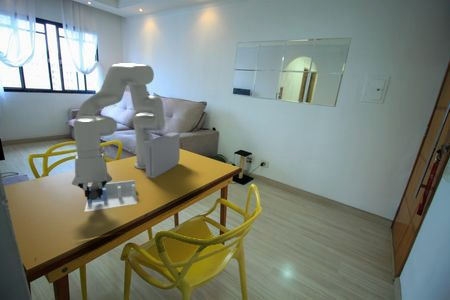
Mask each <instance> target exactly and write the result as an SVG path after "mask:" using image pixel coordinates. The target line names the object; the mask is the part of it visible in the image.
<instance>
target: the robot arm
mask: <svg viewBox="0 0 450 300" xmlns="http://www.w3.org/2000/svg"><path fill="white" fill-rule="evenodd" d="M154 76H155V73H154V69H153V68H152V66H150V65H148V64H139V63H127V62H126V63H125V62H123V63H122V62H121V63H115V64H112V65H111V66H109V68H108V70H107V73H106V75H105V78H104V80H103V83H102V85H101V88H100V90H99V91H97V92H96V93H94V94H92V95H91V96H90V97H88V98H87V99H86V100H84V102H83V103H81V105H80V107H79V109H78V111H77V112H76V113H77V114H76V116H75V120H74V121H73V123H72V124H73V132H74V134H73V135H74V140H75V147H76V156H75V159H74V174H75V176H74V178H73V180H72V181H71V185H72V186H76V187H79V188H80V189H82V190H83V193H84V197H85V198H86V201H87V200H89V199H90V198H89V193H90V188H89V187H88V185H89V183H91V184H92V183H93V182H98V195H99V196H98V197H99V198H101V195H103V189H102V188H103V187H104V186H105V185H106V183H111V182H112V181H113V177H112V176H111V174H109V172H108V167H107V160H106V157H105V154H104V153H106V151H107V150H106V148H103V147H102V145H101V137H109V136H111V135H113V134H115V132H116V131H117V130H118V129H117V128H118V123H117V120H116V119H114V117H111V116H105V115H99V114H98V115H97V114H96V113H97V112H99V110H101V109H104V108H107V107H111V106H113V105H116V104H119V103H120V102H121V101H122V100H123V98H124V94H125V92H126V89H127V87H128V88H129V91H130V92H129V93H130V98H131V103H132V107H133V110H134V111H135V112H137V113H136V114H135V115H134V116H133V118H132V124H133V129H134V134H135V147H136V148H135V150H136V153H135V154H136V162H134V164H133V165H134V168H137V169H140V170H146V164H145V141H148V140H151V139H154V137H153V135H152V132H162V131H164V129H165V125H166V122H165V112H164V111H165V110H164V104H163V99H162V98H161V97H160V96H157V95H149V94H148V88H147V85H149V84H151V83H152V82H153V80H154V78H155V77H154ZM95 114H96V115H95Z"/></svg>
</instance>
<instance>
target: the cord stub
mask: <svg viewBox="0 0 450 300" xmlns="http://www.w3.org/2000/svg"><path fill="white" fill-rule="evenodd" d="M91 185H92V186H91V189H90V193H89V198H90V199H92V200H95V199H97V198H98V196H99V195H98V182H91Z"/></svg>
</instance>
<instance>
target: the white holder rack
mask: <svg viewBox="0 0 450 300" xmlns="http://www.w3.org/2000/svg"><path fill="white" fill-rule="evenodd" d="M91 186H92V184H88V187H89V188H90V189H91ZM102 189H103V195H101V198H99V197H98V198H97V199H95V200H92V199H89V200H87V199H86V205H85V208H84V213H86V212H92V211H94V212H95V211H99V210H105V209H113V208H117V207H119V208H120V207H125V206H131V205H132V206H133V205H137V204H138V199H137V198H138V197H137V191H136V180H135V179H132V180H131V179H130V180H122V181H115V182H112V181H111V182H108V183H106V185H105V186H104V187H103V188H102Z"/></svg>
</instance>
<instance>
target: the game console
mask: <svg viewBox="0 0 450 300" xmlns="http://www.w3.org/2000/svg"><path fill="white" fill-rule="evenodd" d="M180 137H181V134H180V133H179V132H174V131H173V132H168V133H165V134H163V135H161V136H158V137H157V136H156V137H153V139H151V140H148V141H145V164H146V169H145V177H146V178H151V179H155V178H157V177H159V176H160V175H162V174H164V173H166V172H167V171H170V170H171V169H172V168H174V167H176V166H177V165H179V162H180V159H181V158H180V154H181V153H180V151H181V150H180V149H181V148H180V146H181V145H180V143H181V140H180V139H181V138H180Z"/></svg>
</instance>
